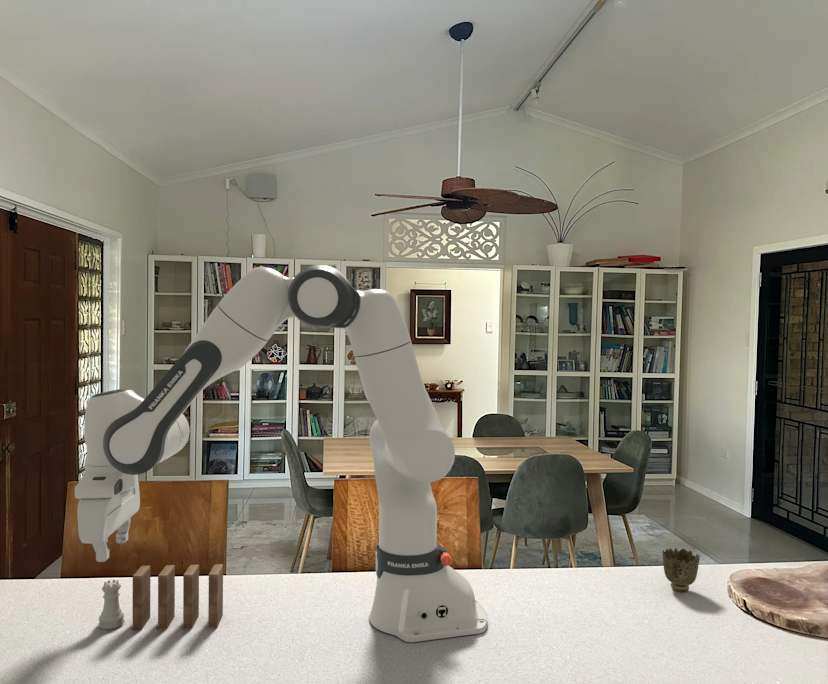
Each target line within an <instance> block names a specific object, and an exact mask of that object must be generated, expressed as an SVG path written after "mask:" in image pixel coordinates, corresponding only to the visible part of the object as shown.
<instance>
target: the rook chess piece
mask: <svg viewBox="0 0 828 684" xmlns="http://www.w3.org/2000/svg"><path fill="white" fill-rule="evenodd" d="M119 581H120V580H117V579H112V581H111V580H110V579H108V580H107V581H104V582H103V586H102V587H101V590H102V592H103V593H104V594H103V596H102V598H103V602H104V603H103V608H102V611H101V613H100V615H99V617H98V623H97V626H98V627H99V628H100V629H101V630H104V631H110V630H114V629H117V628H120V627H121V626H122V625H123V624H124V622H125V613H124V612H123V611H122V608H121V607H120V601H119V600H120V599H119V596H120V593H119V590H120V589H121V587H122V585H121V584H120V582H119Z"/></svg>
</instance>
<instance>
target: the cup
mask: <svg viewBox="0 0 828 684" xmlns="http://www.w3.org/2000/svg"><path fill="white" fill-rule="evenodd" d="M665 549H666V550H664V549H663V551H661V554H662V562H663V563H662V564H663V565H662V566H663V572H664V575H665V577H666V579H667V581H669V582H670V588H671V589H672V590H673V591H674V592H677V593H687V592H688V591H689V590H690V585H693V584H694V583H695V581H696V579H697V575H698V571H699V570H698V569H699V563H700V558H701V557H700V556H699V553H696V554H695V555H693V551H691V550H689V551H688V550H687V549H684V548H682V549H679V550H678V548H676V547H675V548H674V550H673V549H672V548H671V547H670V548H669V549H668V548H665Z"/></svg>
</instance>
